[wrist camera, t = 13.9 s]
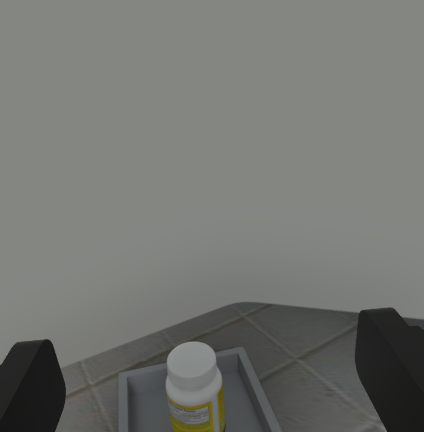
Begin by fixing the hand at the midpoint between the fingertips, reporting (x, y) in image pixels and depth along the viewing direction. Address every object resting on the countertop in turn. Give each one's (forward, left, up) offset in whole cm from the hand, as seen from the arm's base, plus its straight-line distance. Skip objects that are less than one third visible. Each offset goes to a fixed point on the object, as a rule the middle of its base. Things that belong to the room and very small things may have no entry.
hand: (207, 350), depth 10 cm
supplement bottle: (-1, -16, -23) cm, 28 cm away
